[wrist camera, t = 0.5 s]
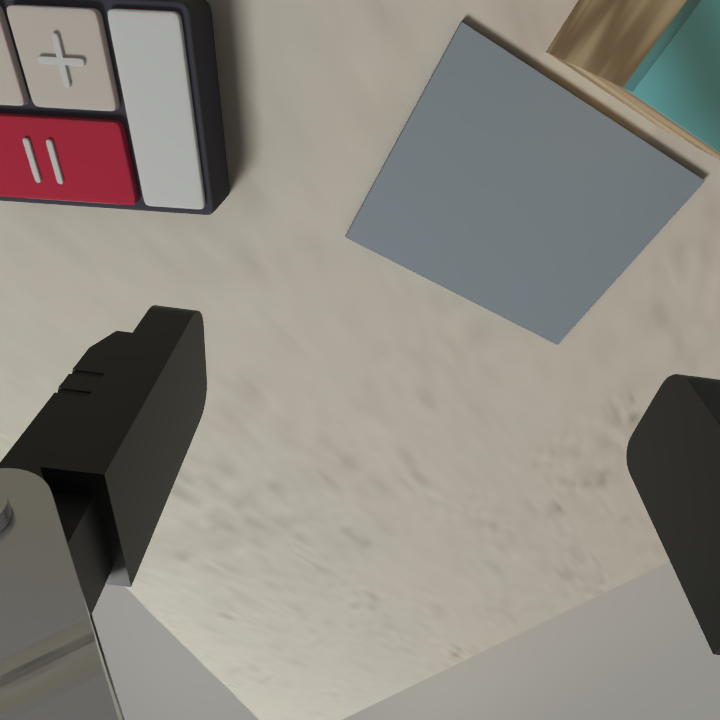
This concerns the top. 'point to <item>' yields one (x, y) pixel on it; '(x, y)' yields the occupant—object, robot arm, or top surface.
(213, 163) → the calculator
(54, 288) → the top surface
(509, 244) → the mat
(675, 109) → the block
